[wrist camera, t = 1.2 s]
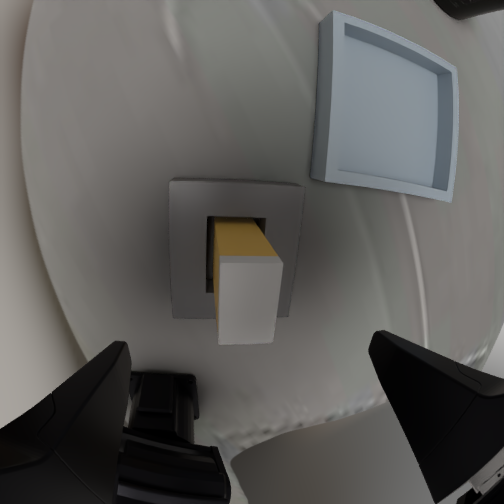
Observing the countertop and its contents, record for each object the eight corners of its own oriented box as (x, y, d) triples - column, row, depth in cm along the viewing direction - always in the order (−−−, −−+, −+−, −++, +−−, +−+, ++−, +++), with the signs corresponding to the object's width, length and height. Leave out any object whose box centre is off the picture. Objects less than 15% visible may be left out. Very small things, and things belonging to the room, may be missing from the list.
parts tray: (432, 196, 20) (451, 202, 18) (310, 177, 18) (324, 181, 16) (438, 71, 16) (456, 67, 14) (319, 23, 14) (333, 10, 12)
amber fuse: (247, 273, 20) (272, 342, 12) (212, 272, 19) (218, 344, 12) (252, 217, 19) (283, 263, 11) (214, 216, 18) (220, 262, 11)
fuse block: (281, 302, 21) (288, 316, 19) (175, 303, 20) (172, 318, 18) (295, 183, 18) (305, 187, 16) (173, 178, 17) (169, 181, 15)
